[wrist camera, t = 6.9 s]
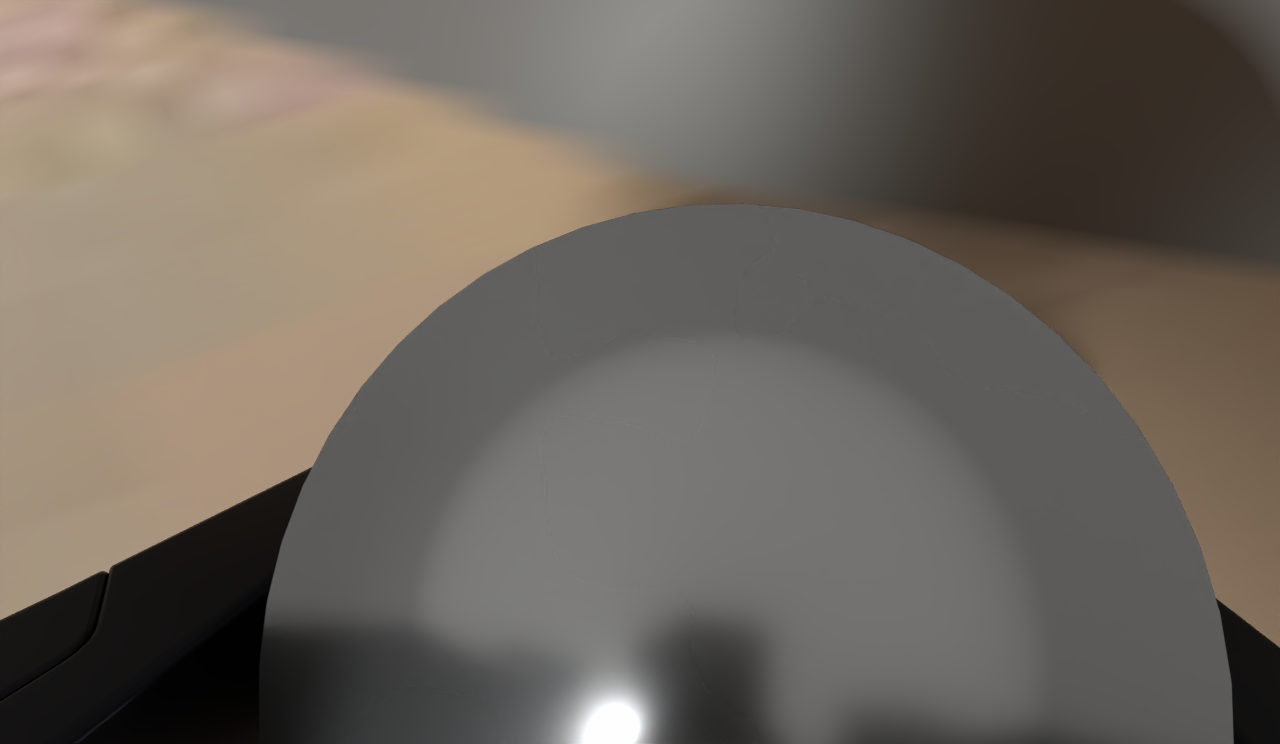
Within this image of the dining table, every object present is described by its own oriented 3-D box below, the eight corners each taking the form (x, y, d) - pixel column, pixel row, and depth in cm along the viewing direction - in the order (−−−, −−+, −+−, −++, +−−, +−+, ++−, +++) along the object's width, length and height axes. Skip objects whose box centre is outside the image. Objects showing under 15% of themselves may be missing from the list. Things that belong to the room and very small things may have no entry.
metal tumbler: (942, 697, 14) (1466, 915, 4) (641, 852, 14) (465, 1457, 4) (782, 406, 15) (898, 71, 6) (508, 540, 15) (149, 430, 5)
